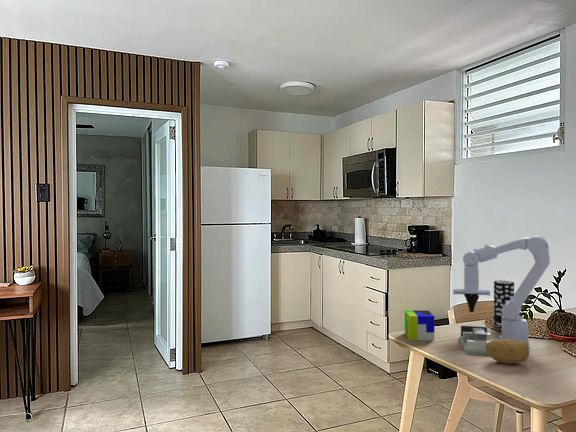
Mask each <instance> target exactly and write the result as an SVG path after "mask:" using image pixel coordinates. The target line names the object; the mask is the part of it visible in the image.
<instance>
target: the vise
mask: <svg viewBox="0 0 576 432" xmlns="http://www.w3.org/2000/svg"><path fill="white" fill-rule="evenodd" d="M458 340H459V342H460V344H461V346H462V349H463V350H464V353H465V354H468V355H481V354H485V356H490V355H489V354H488V353H487V351H486V348H485V347H486V344H487V343H488V342H490V341H479V340H467V341H464V340H463V337H461V336H458ZM491 341H492V339H491Z"/></svg>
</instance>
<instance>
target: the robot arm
mask: <svg viewBox="0 0 576 432" xmlns="http://www.w3.org/2000/svg"><path fill="white" fill-rule="evenodd" d="M518 249H520V250H523V251H527V249H528V251H529V252H530V253H531V255H532V257H533V259H534V263H533V265H532V267H531V269H529V271H528V273H527V274H526V276H525V278H523V281H522V282H521V284H520V285H519V287H518V288H517V289H516V291H515V292H514V296H513V297H512V299H511V300H509V301H507V302H506V303H505V305H504V306H503V308H502V314H503V316H502V328H501V335H498V337H499V340H503V339H508V340H517V341H523V342H525V343H526V344H530V343H529V323H528V319H525V318H522V316H521V315H520V313H521V311H522V306H523V305H524V303H525V301H526V300H527V298H528V297H529V295H530V294H531V292H532V291H533V289H534V288H535V287H536V285H537V284H538V282H539V280H540V279H541V278H542V276H543V275H544V273H545V271H546V270H547V268H548V267H549V265H550V263H551V260H550V250H549V245H548V242H547V241H546V239H545V238H544V237H543V236H541V235H538V234H537V235H536V234H535V235H533V236H527V237H522V238H518V239H515V240H511V241H510V242H506V243H503V244H500V245H497V246H494V245H492V244H490V245H489V244H485V245H484V246H483V247H480V248H474V249H473V250H471V251H467V252H466V253H465V254H464V255H463V257H462V262H463V263H464V266H463V267H464V269H463V282H464V283H463V288H456V289H455V288H453V289H452V294H453V295H463V296H464V298H465V300H466V302H467V305H468V310H469V311H468V312H470V313H474V311H475V307H476V304H477V302H478V300H479V298H480V296H491V290H489V289H480V288H479V285H480V284H479V283H480V281H479V278H480V277H479V275H480V273H479V272H480V271H479V270H480V269H479V263H484V262H488V261H491V260H494V259H497V258H498V256H499V254H503V253H507V252H510V251H511V252H512V251H513V250H518Z"/></svg>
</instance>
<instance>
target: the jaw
mask: <svg viewBox="0 0 576 432" xmlns="http://www.w3.org/2000/svg"><path fill="white" fill-rule="evenodd" d="M472 328H482V329H483V330H484V331H485V332H486V334H487V341H491V340H492V339H491V338H492V334H491V333H490V332H488V326H481V325H480V326H479V325H477V326H476V325H460V337H463V340H464V341H467V340H472Z"/></svg>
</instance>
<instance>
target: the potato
mask: <svg viewBox="0 0 576 432" xmlns="http://www.w3.org/2000/svg"><path fill="white" fill-rule="evenodd" d="M491 340H492V339H491ZM485 348H486V351H487V353H488V354H489V355H488V356H490V357H491V358H492V359H493V360H495V361H496V362H497V363H501V364H505V365H513V364H514V365H515V364H519V363H524V362H525V361H526V360H527V359H528V358H529V356H530V347H529V345H528V343H525V342H523V341H517V340H508V339H503V340H501V339H494V340H492V341H490V342H488V343H487V344H486V347H485Z"/></svg>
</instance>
